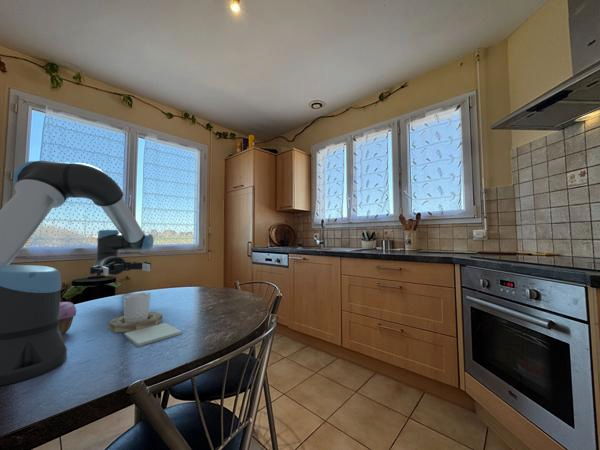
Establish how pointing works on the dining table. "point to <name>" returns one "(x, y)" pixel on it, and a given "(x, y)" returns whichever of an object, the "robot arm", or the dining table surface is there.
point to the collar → (121, 326)
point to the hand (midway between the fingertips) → (129, 269)
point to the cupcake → (66, 316)
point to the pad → (152, 334)
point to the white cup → (136, 307)
